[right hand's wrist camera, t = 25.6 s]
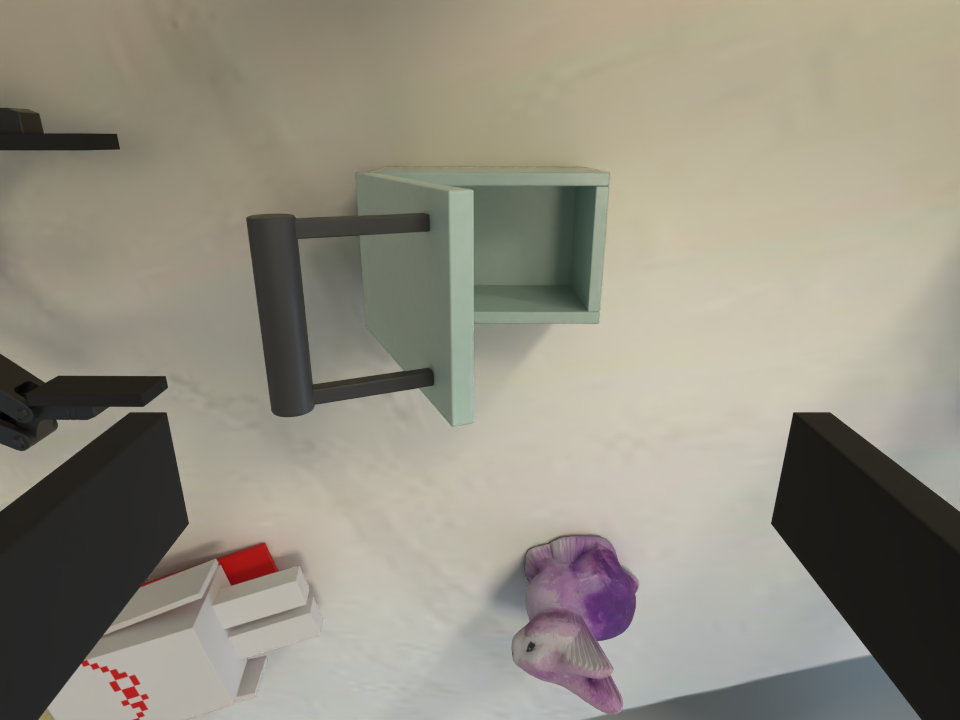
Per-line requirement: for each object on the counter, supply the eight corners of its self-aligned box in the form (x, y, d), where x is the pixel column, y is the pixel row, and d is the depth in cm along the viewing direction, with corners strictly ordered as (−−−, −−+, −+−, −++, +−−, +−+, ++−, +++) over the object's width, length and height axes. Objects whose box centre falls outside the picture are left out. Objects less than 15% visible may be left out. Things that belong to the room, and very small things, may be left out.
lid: (474, 189, 22) (246, 196, 19) (474, 423, 26) (280, 460, 23) (371, 172, 36) (230, 174, 33) (380, 325, 39) (253, 339, 36)
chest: (586, 167, 45) (610, 172, 36) (578, 293, 48) (599, 324, 40) (386, 166, 45) (365, 171, 36) (392, 292, 48) (374, 323, 40)
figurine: (497, 567, 57) (503, 705, 43) (581, 508, 55) (616, 634, 41) (557, 625, 60) (581, 773, 46) (640, 571, 57) (692, 710, 43)
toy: (324, 699, 50) (-27, 809, 49) (339, 593, 63) (60, 678, 62) (272, 587, 46) (-111, 704, 45) (299, 498, 59) (0, 587, 58)
